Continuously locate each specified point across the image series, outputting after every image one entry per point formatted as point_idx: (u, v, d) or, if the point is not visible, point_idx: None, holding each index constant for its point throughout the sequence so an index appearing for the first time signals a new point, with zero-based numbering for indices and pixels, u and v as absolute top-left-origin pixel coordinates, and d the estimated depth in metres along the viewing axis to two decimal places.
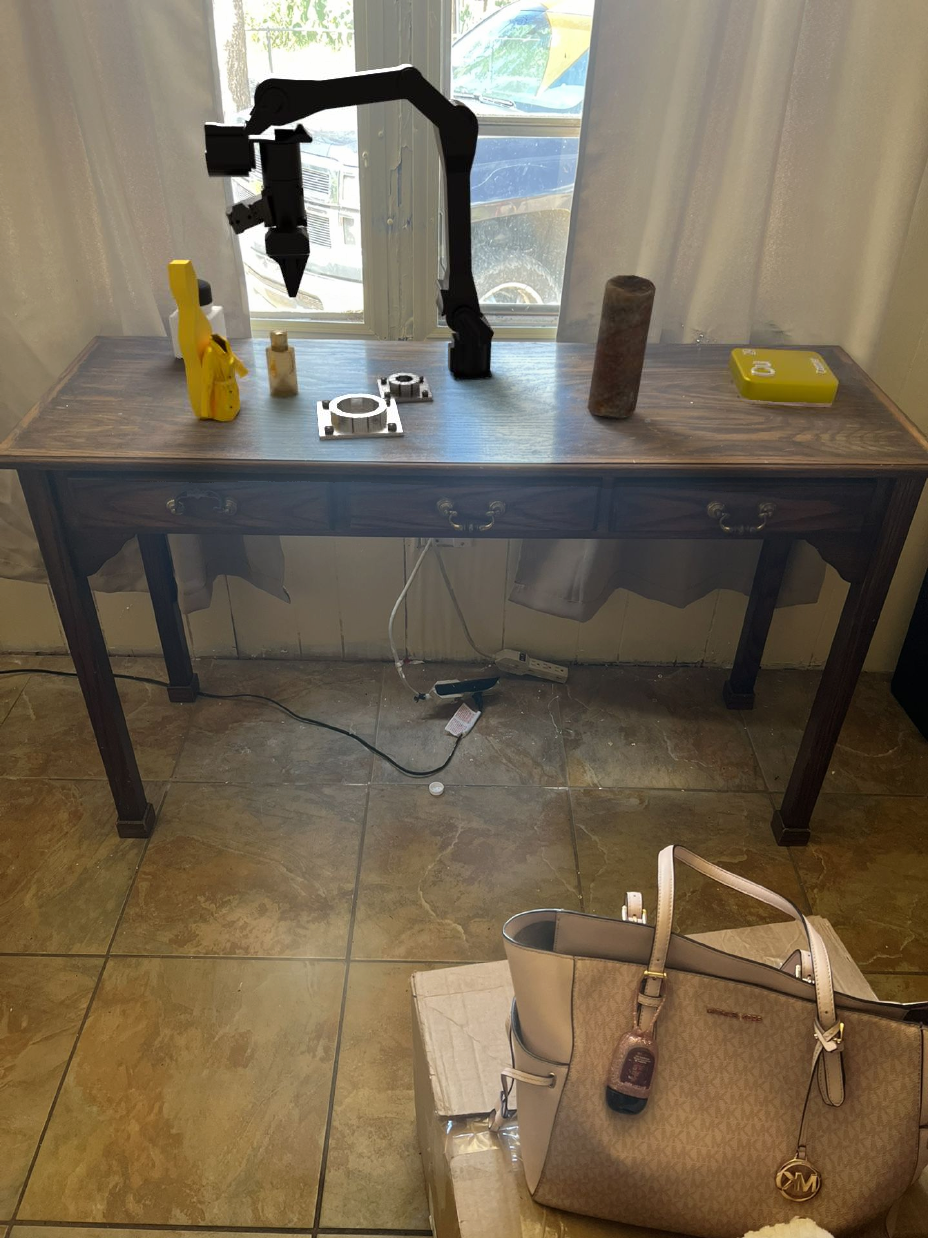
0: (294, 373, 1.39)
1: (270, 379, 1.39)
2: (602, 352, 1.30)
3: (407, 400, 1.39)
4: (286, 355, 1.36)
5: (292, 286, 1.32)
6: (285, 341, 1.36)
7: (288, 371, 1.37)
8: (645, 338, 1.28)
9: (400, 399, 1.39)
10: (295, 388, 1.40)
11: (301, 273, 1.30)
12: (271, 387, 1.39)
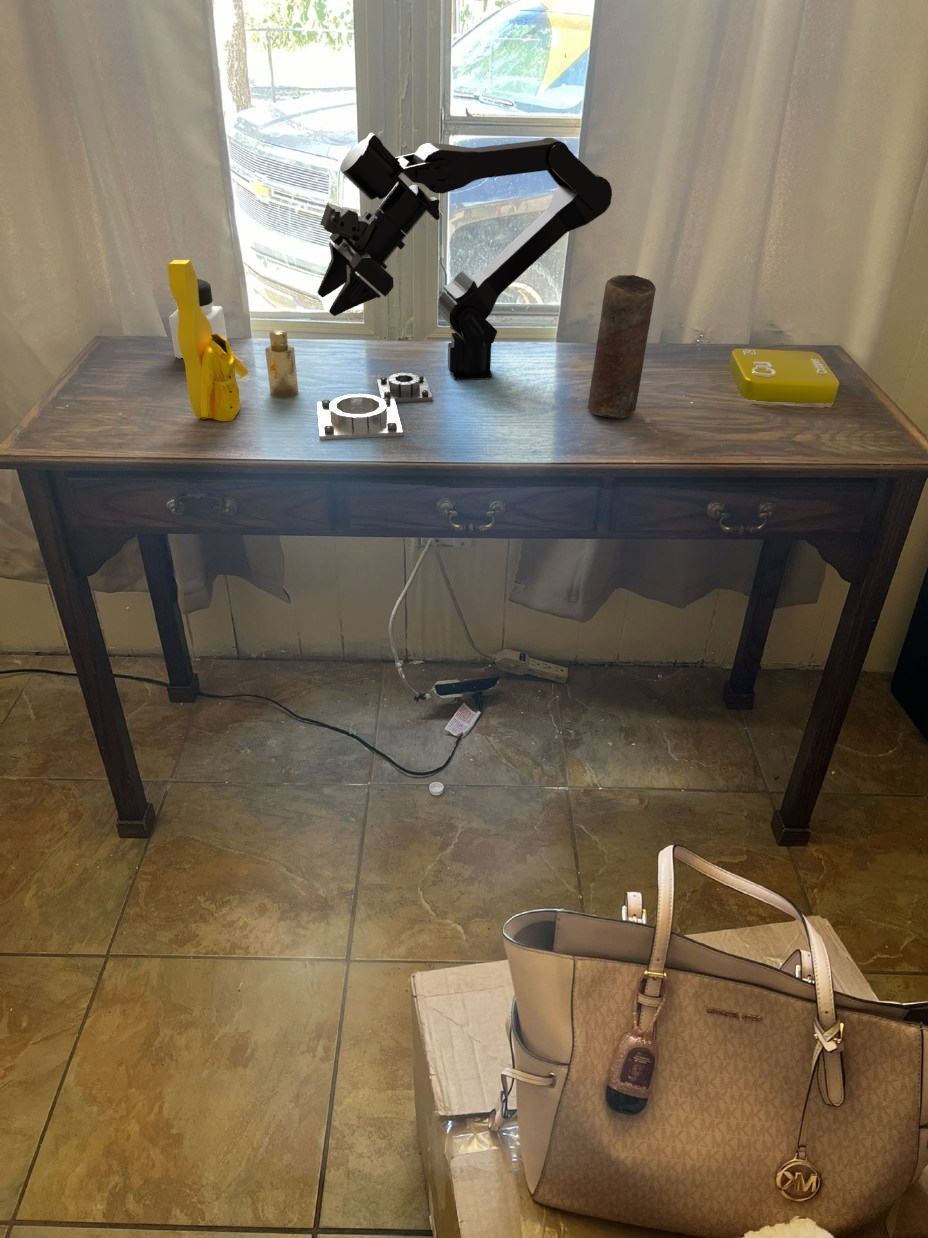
0: (294, 373, 1.39)
1: (270, 379, 1.39)
2: (602, 352, 1.30)
3: (407, 400, 1.39)
4: (286, 355, 1.36)
5: (340, 306, 1.31)
6: (285, 341, 1.36)
7: (288, 371, 1.37)
8: (645, 338, 1.28)
9: (400, 399, 1.39)
10: (295, 388, 1.40)
11: (357, 303, 1.31)
12: (271, 387, 1.39)
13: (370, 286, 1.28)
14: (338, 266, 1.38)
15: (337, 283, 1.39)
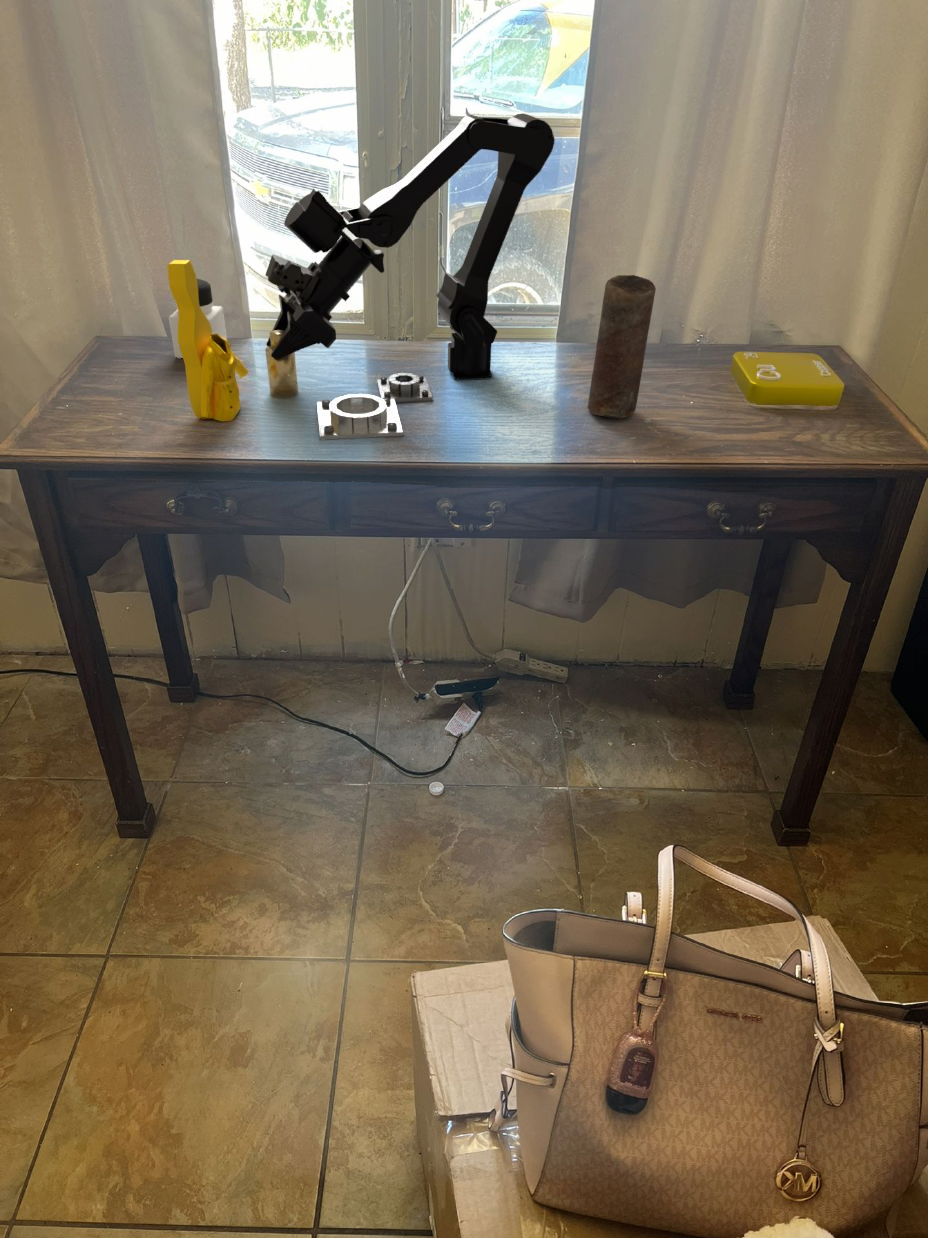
0: (294, 373, 1.39)
1: (270, 379, 1.39)
2: (602, 352, 1.30)
3: (407, 400, 1.39)
4: None
5: (282, 351, 1.34)
6: None
7: (288, 371, 1.37)
8: (645, 338, 1.28)
9: (400, 399, 1.39)
10: (295, 388, 1.40)
11: (298, 348, 1.34)
12: (271, 387, 1.39)
13: (310, 333, 1.31)
14: (287, 319, 1.37)
15: None
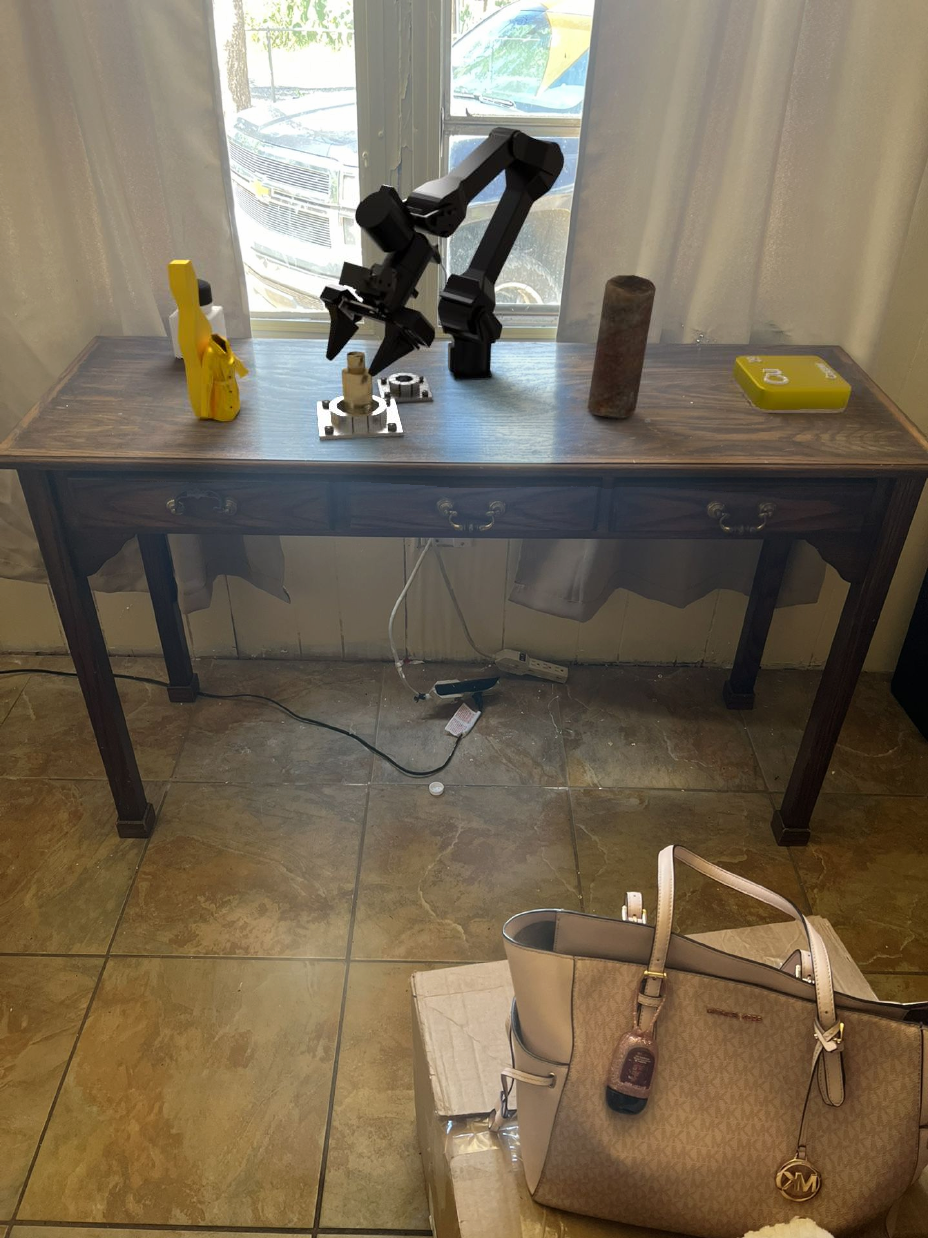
0: (372, 393, 1.31)
1: (352, 405, 1.30)
2: (602, 352, 1.30)
3: (407, 400, 1.39)
4: (370, 376, 1.28)
5: (380, 365, 1.25)
6: None
7: (371, 392, 1.30)
8: (645, 338, 1.28)
9: (400, 399, 1.39)
10: None
11: (395, 359, 1.26)
12: (352, 413, 1.31)
13: (413, 340, 1.24)
14: (342, 326, 1.29)
15: (342, 343, 1.30)
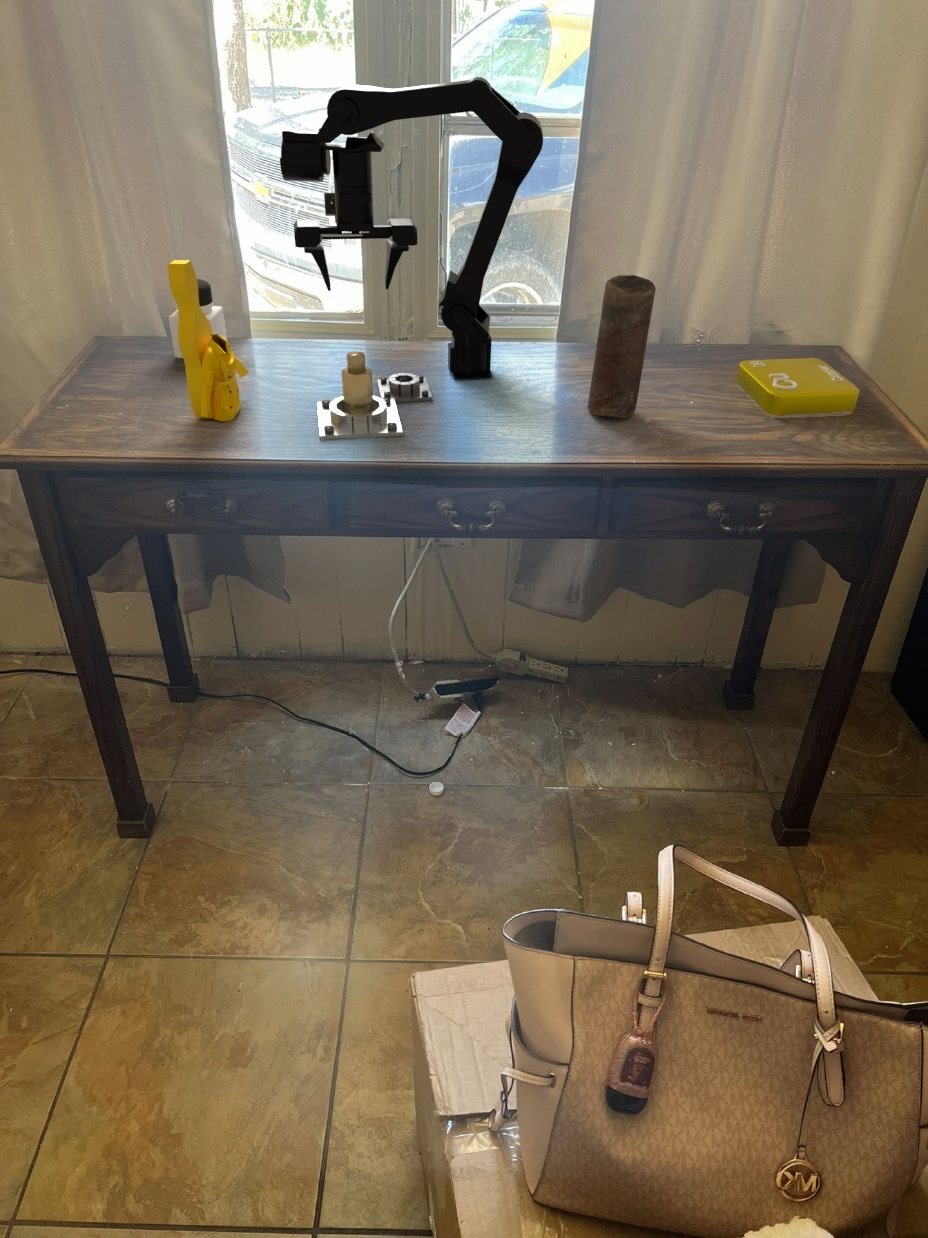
0: (372, 393, 1.31)
1: (352, 405, 1.30)
2: (602, 352, 1.30)
3: (407, 400, 1.39)
4: (370, 376, 1.28)
5: None
6: None
7: (371, 392, 1.30)
8: (645, 338, 1.28)
9: (400, 399, 1.39)
10: None
11: (319, 268, 1.38)
12: (352, 413, 1.31)
13: None
14: (387, 254, 1.40)
15: (386, 270, 1.40)
